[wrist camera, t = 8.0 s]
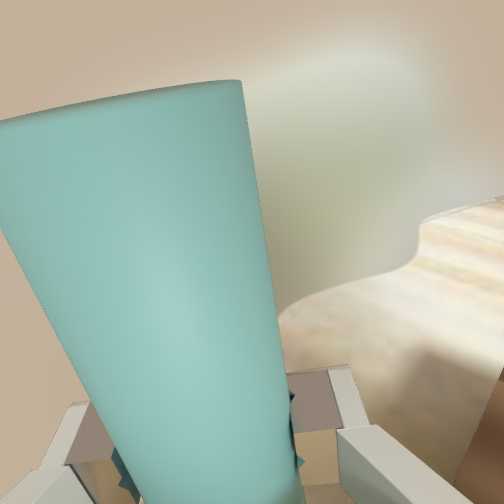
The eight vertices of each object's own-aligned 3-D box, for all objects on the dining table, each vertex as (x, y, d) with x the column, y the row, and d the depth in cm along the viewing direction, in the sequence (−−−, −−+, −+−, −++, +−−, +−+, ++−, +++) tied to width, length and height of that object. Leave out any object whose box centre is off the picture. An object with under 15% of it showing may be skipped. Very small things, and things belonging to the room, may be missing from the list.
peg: (262, 520, 15) (148, 87, 7) (342, 595, 12) (296, 72, 5) (193, 612, 13) (-72, 135, 5) (273, 723, 10) (6, 146, 3)
